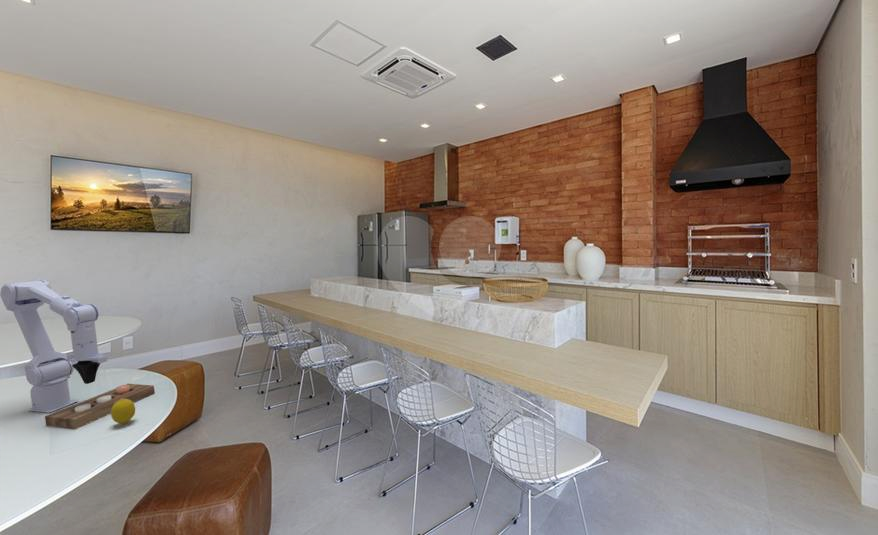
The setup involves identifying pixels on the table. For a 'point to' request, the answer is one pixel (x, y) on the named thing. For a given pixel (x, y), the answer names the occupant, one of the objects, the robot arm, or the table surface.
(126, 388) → the terracotta plug
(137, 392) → the walnut board
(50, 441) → the table surface
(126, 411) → the lemon
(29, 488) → the table surface
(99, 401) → the grey plug middle
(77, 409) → the grey plug right
